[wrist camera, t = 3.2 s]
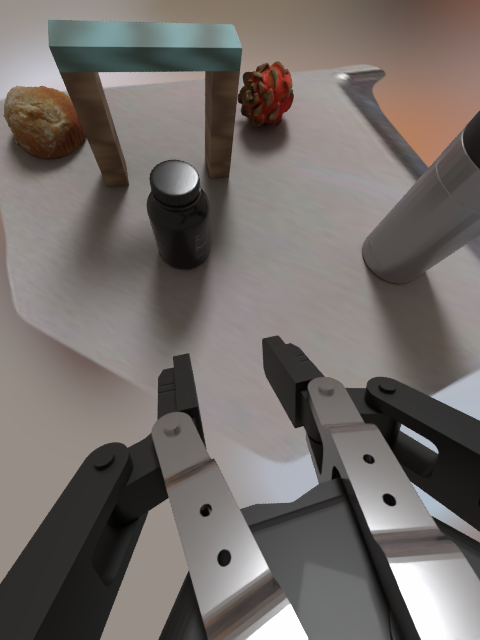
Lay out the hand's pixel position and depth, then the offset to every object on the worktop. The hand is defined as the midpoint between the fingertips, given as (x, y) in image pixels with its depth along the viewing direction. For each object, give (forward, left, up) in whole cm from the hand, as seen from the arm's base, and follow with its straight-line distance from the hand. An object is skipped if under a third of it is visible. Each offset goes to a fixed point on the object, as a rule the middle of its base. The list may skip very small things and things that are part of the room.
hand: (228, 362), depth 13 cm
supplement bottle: (0, -20, -20) cm, 28 cm away
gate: (0, -34, -20) cm, 39 cm away
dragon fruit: (-18, -45, -20) cm, 53 cm away
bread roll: (+16, -43, -20) cm, 50 cm away
